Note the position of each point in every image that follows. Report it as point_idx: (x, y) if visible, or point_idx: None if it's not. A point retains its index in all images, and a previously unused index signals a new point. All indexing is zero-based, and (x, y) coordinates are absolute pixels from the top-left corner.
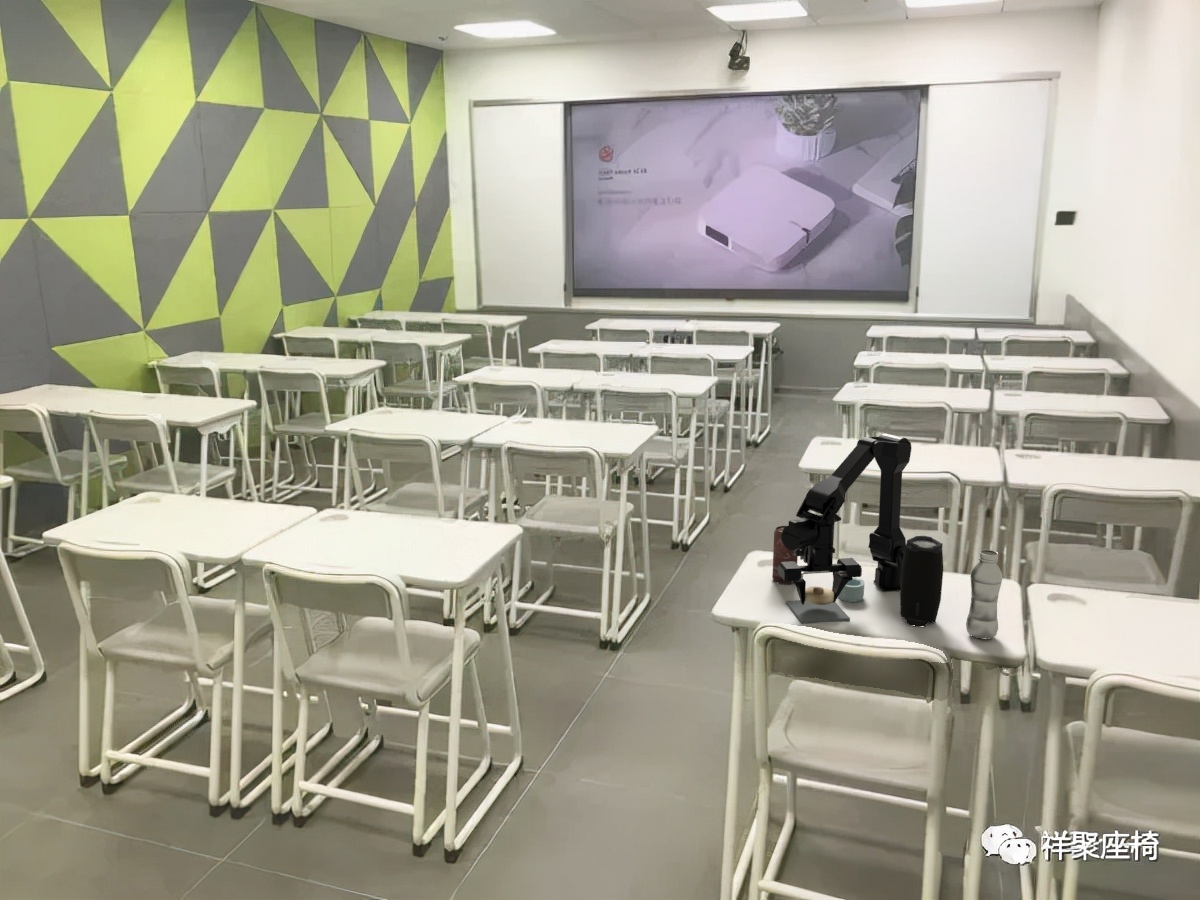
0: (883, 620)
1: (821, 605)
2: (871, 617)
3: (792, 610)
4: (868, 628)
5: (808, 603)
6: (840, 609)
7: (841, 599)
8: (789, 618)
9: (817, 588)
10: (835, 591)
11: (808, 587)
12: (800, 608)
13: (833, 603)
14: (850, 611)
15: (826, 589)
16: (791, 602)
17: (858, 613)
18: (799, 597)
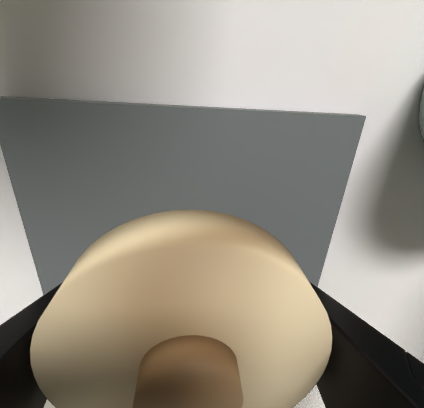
0: (418, 346)
1: (235, 215)
2: (397, 323)
3: (32, 239)
4: None
5: (162, 173)
6: (312, 274)
7: (422, 116)
8: (10, 300)
9: (185, 391)
10: (334, 402)
11: (121, 266)
12: (85, 237)
13: (322, 200)
14: (356, 266)
15: (296, 327)
16: (33, 132)
17: (376, 288)
18: (24, 314)
